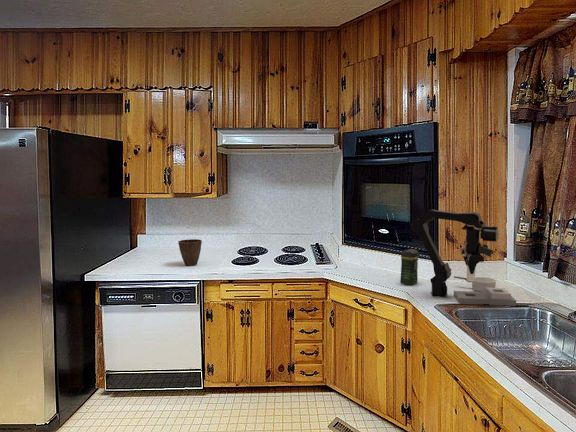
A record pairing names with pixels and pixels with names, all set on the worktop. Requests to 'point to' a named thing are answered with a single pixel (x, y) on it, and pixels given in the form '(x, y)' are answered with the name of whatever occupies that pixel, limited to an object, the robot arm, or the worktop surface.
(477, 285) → the saucepan
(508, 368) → the worktop surface
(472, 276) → the plug
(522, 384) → the worktop surface
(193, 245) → the plant pot
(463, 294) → the jack panel
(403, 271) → the coffee jar
